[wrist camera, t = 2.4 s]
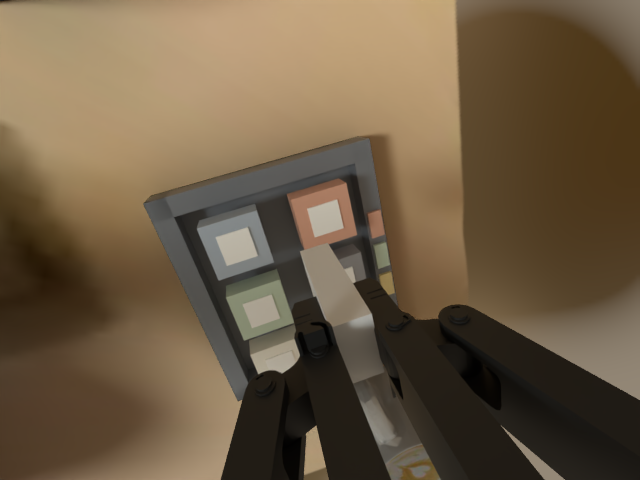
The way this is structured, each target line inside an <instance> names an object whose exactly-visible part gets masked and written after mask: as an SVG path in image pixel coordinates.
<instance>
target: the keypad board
mask: <svg viewBox="0 0 640 480" xmlns="http://www.w3.org/2000/svg"><path fill="white" fill-rule="evenodd" d="M338 178H339V179H341V180H342V181H344V182H345V183H346V184H347V189H348V194H349V198H350V203H351V208H352V213H353V217H354V222H355V227H356V232H357V235H356V236H353V237H350V238H347V239H343V240H340V241H337V242H334V243H331V244H329V246H330V247H331V249H332V250H335V249H338V248H341V247H344V246H347V245H350V244H354V245H355V247H356V248H357V249H358V250H359V251H360V252H361V256H362V260H363V265H364V270H365V275H366V279H367V278H372V279H374V280H376V281H378V282H379V283H380V284H381V286H382V287H383V289H384V290H385V291H386V292H387V294H388V295H389V296H390V297H391V299H392V300H393V301H394V302H395V304H396V305H397V306H398V303H397V298H396V292H395V286H394V280H393V274H392V268H391V262H390V256H389V251H388V245H387V239H386V233H385V227H384V221H383V215H382V210H381V204H380V198H379V192H378V186H377V180H376V174H375V169H374V163H373V157H372V151H371V145H370V139H369V138H364V137H359V136H358V137H354V138H351V139H347V140H344V141H340V142H337V143H333V144H330V145H326V146H323V147H319V148H316V149H312V150H309V151H305V152H302V153H298V154H295V155H291V156H288V157H285V158H281V159H278V160H274V161H271V162H267V163H264V164H260V165H257V166H253V167H250V168H246V169H243V170H239V171H236V172H232V173H229V174H225V175H222V176H218V177H215V178H211V179H208V180H204V181H201V182H197V183H194V184H190V185H187V186H183V187H180V188H176V189H173V190H169V191H166V192H162V193H159V194H155V195H152V196H150V197H149V198H148V199H147V200H146V201H145V202H144V207H145V209H146V211H147V213H148V215H149V217H150V219H151V221H152V223H153V225H154V227H155V229H156V232H157V234H158V236H159V238H160V240H161V242H162V244H163V246H164V248H165V250H166V252H167V254H168V257H169V259H170V261H171V263H172V265H173V267H174V269H175V271H176V273H177V275H178V277H179V279H180V282H181V284H182V286H183V288H184V290H185V292H186V294H187V296H188V298H189V300H190V302H191V304H192V307H193V309H194V311H195V313H196V315H197V317H198V319H199V321H200V323H201V325H202V327H203V329H204V332H205V334H206V336H207V338H208V340H209V342H210V344H211V346H212V348H213V350H214V352H215V354H216V357H217V359H218V361H219V363H220V365H221V367H222V369H223V371H224V373H225V375H226V377H227V379H228V382H229V384H230V386H231V388H232V390H233V392H234V394H235V396H236V398H237V400H238V401H240V400H243V396H244V393H245V389H246V387H247V385H248V383H249V382H250V381H251V380H252V379H253V378H254V377H255V376H257V375H258V372H257V370H256V368H255V365H254V363H253V360H252V358H251V356H250V346H249V340H252V339H254V338H257V337H260V336H263V335H266V334H268V333H271V332H274V331H277V330H280V329H282V328H285V327H288V326H291V325H294V323H292V324H289V325H287V326H284V327H281V328H278V329H275V330H273V331H270V332H267V333H264V334H261V335H259V336H256V337H253V338H250V339H247V340H245V341H244V339H243V337H242V334H241V332H240V330H239V327H238V325H237V323H236V320H235V318H234V316H233V313H232V311H231V309H230V306H229V304H228V301H227V299H226V286H227V285H230V284H233V283H236V282H239V281H242V280H245V279H248V278H251V277H254V276H257V275H260V274H263V273H266V272H269V271H272V270H275V269H277V271H278V274H279V277H280V280H281V283H282V286H283V289H284V292H285V295H286V298H287V301H288V304H289V307H290V310H291V313H292V309H293V306H294V303H297V302H300V301H303V300H306V299H309V298H312V297H314V296H313V293H312V290H311V287H310V283H309V280H308V277H307V273H306V270H305V267H304V263H303V260H302V257H301V253H300V251H303V250H304V248H303V246H302V244H301V242H300V238H299V235H298V231H297V228H296V225H295V221H294V218H293V214H292V211H291V207H290V204H289V200H288V197H287V194H288V193H292V192H295V191H298V190H302V189H305V188H308V187H311V186H315V185H318V184H321V183H325V182H328V181H331V180H335V179H338ZM252 204H255V205H256V208H257V211H258V214H259V217H260V220H261V223H262V226H263V229H264V232H265V235H266V238H267V241H268V244H269V247H270V250H271V253H272V257H273V260H274V263H271V264H268V265H265V266H262V267H259V268H255V269H252V270H249V271H246V272H243V273H240V274H237V275H234V276H231V277H228V278H225V279H222V280H218V278H217V276H216V273H215V271H214V268H213V266H212V264H211V261H210V259H209V257H208V254H207V252H206V250H205V247H204V245H203V243H202V240H201V238H200V235H199V233H198V231H197V226H198V223H199V220H202V219H206V218H209V217H212V216H216V215H219V214H222V213H225V212H229V211H232V210H235V209H239V208H242V207H245V206H249V205H252ZM292 317H293V316H292Z"/></svg>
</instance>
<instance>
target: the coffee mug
mask: <svg viewBox="0 0 640 480" xmlns="http://www.w3.org/2000/svg"><path fill="white" fill-rule="evenodd" d="M383 368H384V372H383V373H381V374H378V375H375V376H372V377H370V378H367V379H364V380H361V381H359V382H356V383H353V385H354V388H355V390H356V393H357V395H358V398H359V400H360V403H361V405H362V408H363V410H364V413H365V415H366V418H367V420H368V423H369V425H370V428H371V430H372V433H373V435H374V438H375V440H376V443H377V445H378V448H379V450H380V453H381V455H382V458H383V460H384V463H385V465H386V468H387V470H388V473H389V475H390V478H391V480H441V479H440V477H439V475H438V473H437V471H436V469H435V467H434V466H433V464H432V462H431V460H430V458H429V456H428V454H427V452H426V450H425V448H424V447H423V445H422V443H421V441H420V439H419V437H418V435H417V433H416V431H415V430H414V428H413V426H412V424H411V422H410V420H409V418H408V416H407V414H406V412H405V411H404V409H403V407H402V405H401V403H400V401H399V399H398V397H397V395H396V397H395V398H393V395H392V391H391V386H390V382H389V377H388V372H387V370H386V368H385V367H383Z"/></svg>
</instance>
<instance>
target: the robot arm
mask: <svg viewBox="0 0 640 480" xmlns="http://www.w3.org/2000/svg"><path fill="white" fill-rule="evenodd" d="M300 253H301V257H302V260H303V263H304V267H305V270H306V273H307V277H308V280H309V283H310V287H311V290H312V293H313V296H314V297H312V298H309V299H306V300H303V301H300V302H297V303H294V306H293V309H292V316H293V320H294V324H295V329H296V332H295V335H294V339H295V342H296V345H297V348H298V351H299V354H300V356H299V358H298V360H297V362H296V363H295V364H294V365H293V366H292V367H291V368H289V369H288V370H287V371H285V372H284V373H281V372H278V371H276V370H268V371H265V372H262V373H260V374H258V375H257V376H255V377H254V378H253V379H252V380H251V381H250V382H249V383H248V385H247V387H246V389H245V393H244V396H243V400H242V404H241V407H240V411H239V415H238V418H237V422H236V426H235V429H234V433H233V437H232V440H231V444H230V448H229V451H228V455H227V459H226V462H225V466H224V470H223V473H222V477H221V480H303V478H304V463H305V447H306V433H307V432H308V431H309V430H311V429H312V428H313V427H315V426H316V425H317V430H318V434H319V438H320V443H321V447H322V451H323V456H324V460H325V464H326V469H327V473H328V477H329V480H391V478H390V475H389V473H388V470H387V468H386V465H385V463H384V460H383V458H382V455H381V453H380V450H379V448H378V445H377V443H376V440H375V438H374V435H373V433H372V430H371V428H370V425H369V423H368V420H367V418H366V415H365V413H364V410H363V408H362V405H361V403H360V400H359V398H358V395H357V393H356V390H355V388H354V385H353V383H356V382H359V381H361V380H364V379H367V378H370V377H372V376H375V375H378V374H381V373H383V372H384V368H383V365H384V366H385V368H386V370H387V372H388V377H389V382H390V386H391V391H392V395H393V398H395V397H396V395H397V397H398V399H399V401H400V403H401V405H402V407H403V409H404V411H405V412H406V414H407V416H408V418H409V420H410V422H411V424H412V426H413V428H414V430H415V431H416V433H417V435H418V437H419V439H420V441H421V443H422V445H423V447H424V448H425V450H426V452H427V454H428V456H429V458H430V460H431V462H432V464H433V466H434V467H435V469H436V471H437V473H438V475H439V477H440V479H441V480H544V479H543V477H542V476H541V475H540V474H539V473H538V471H537V470H536V469H535V468H534V466H533V465H532V464H531V463H530V461H529V460H528V459H527V458H526V456H525V455H524V454H523V453H522V451H521V450H520V449H519V448H518V447H517V445H516V444H515V443H514V442H513V440H512V439H511V438H510V437H509V435H508V434H507V433H506V432H505V430H504V429H503V428H502V427H504V428H505V429H506V430H507V431H508V432H510V433H511V434H512V435H513V436H514V437H515V438H517V439H518V440H519V441H520V442H522V443H523V444H524V445H525V446H526V447H527V448H528V449H530V450H531V451H532V452H533V453H534V454H535V455H537V456H538V457H539V458H540V459H541V460H543V461H544V462H545V463H546V464H547V465H548V466H550V467H551V468H552V469H553V470H554V471H556V472H557V473H558V474H559V475H560V476H561V477H563V478H564V479H565V480H640V400H638V399H637V398H635V397H633V396H631V395H629V394H628V393H626V392H624V391H622V390H620V389H619V388H617V387H615V386H613V385H611V384H609V383H608V382H606V381H604V380H602V379H601V378H598V377H597V376H595V375H593V374H591V373H590V372H588V371H586V370H584V369H582V368H581V367H579V366H577V365H575V364H573V363H571V362H570V361H568V360H566V359H564V358H562V357H561V356H559V355H557V354H555V353H554V352H552V351H550V350H548V349H546V348H544V347H543V346H541V345H539V344H537V343H535V342H534V341H532V340H530V339H528V338H526V337H524V336H523V335H521V334H519V333H517V332H516V331H514V330H512V329H510V328H508V327H507V326H505V325H503V324H501V323H499V322H497V321H496V320H494V319H492V318H490V317H488V316H487V315H485V314H483V313H481V312H479V311H478V310H475V309H474V308H471V307H469V306H466V305H450V306H448V307H445V308H444V309H442V310H441V311H440V313H439V316H438V318H439V319H431V320H416V319H414V317H412V316H411V315H410V314H408V313H405V312H402V311H401V310H400V309H399V308H398V306H397V305H396V304H395V302H394V301H393V300H392V299H391V297H390V296H389V295H388V294H387V292H386V291H385V290H384V289H383V287H382V286H381V284H380V283H379V282H378V281H376V280H374V279H372V278H367V279H364V280H361V281H358V282H355V283H352V281H351V280H350V278H349V276H348V275H347V273H346V272H345V270H344V268H343V267H342V265H341V264H340V262H339V260H338V259H337V257H336V256H335V254H334V252H333V251H332V249H331V247H330V246H329V244H328V243H325V244H322V245H318V246H315V247H312V248H309V249H306V250H303V251H300ZM501 426H502V427H501Z"/></svg>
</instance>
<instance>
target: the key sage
mask: <svg viewBox="0 0 640 480" xmlns="http://www.w3.org/2000/svg"><path fill="white" fill-rule="evenodd" d="M226 299H227V301H228V304H229V306H230V309H231V311H232V313H233V316H234V318H235V320H236V323H237V325H238V327H239V330H240V332H241V334H242V337H243V339H244V341H245V340H247V339H250V338H253V337H256V336H259V335H261V334H264V333H267V332H270V331H273V330H275V329H278V328H281V327H284V326H287V325H289V324H292V323H294V320H293V317H292V313H291V310H290V307H289V304H288V301H287V298H286V295H285V292H284V289H283V286H282V283H281V280H280V277H279V274H278V271H277V269H275V270H272V271H269V272H266V273H263V274H260V275H257V276H254V277H251V278H248V279H245V280H242V281H239V282H236V283H233V284H230V285H227V286H226Z"/></svg>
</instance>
